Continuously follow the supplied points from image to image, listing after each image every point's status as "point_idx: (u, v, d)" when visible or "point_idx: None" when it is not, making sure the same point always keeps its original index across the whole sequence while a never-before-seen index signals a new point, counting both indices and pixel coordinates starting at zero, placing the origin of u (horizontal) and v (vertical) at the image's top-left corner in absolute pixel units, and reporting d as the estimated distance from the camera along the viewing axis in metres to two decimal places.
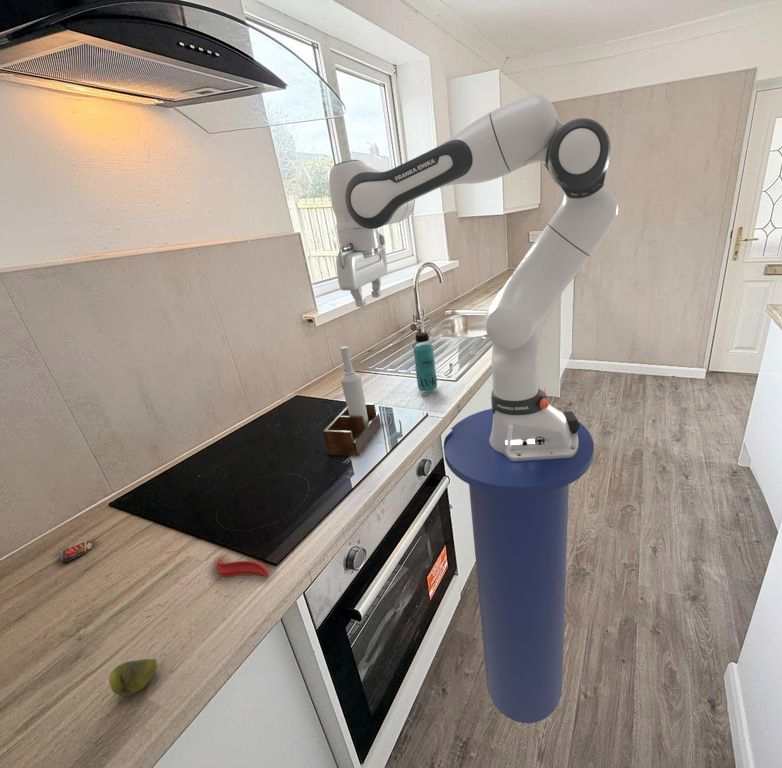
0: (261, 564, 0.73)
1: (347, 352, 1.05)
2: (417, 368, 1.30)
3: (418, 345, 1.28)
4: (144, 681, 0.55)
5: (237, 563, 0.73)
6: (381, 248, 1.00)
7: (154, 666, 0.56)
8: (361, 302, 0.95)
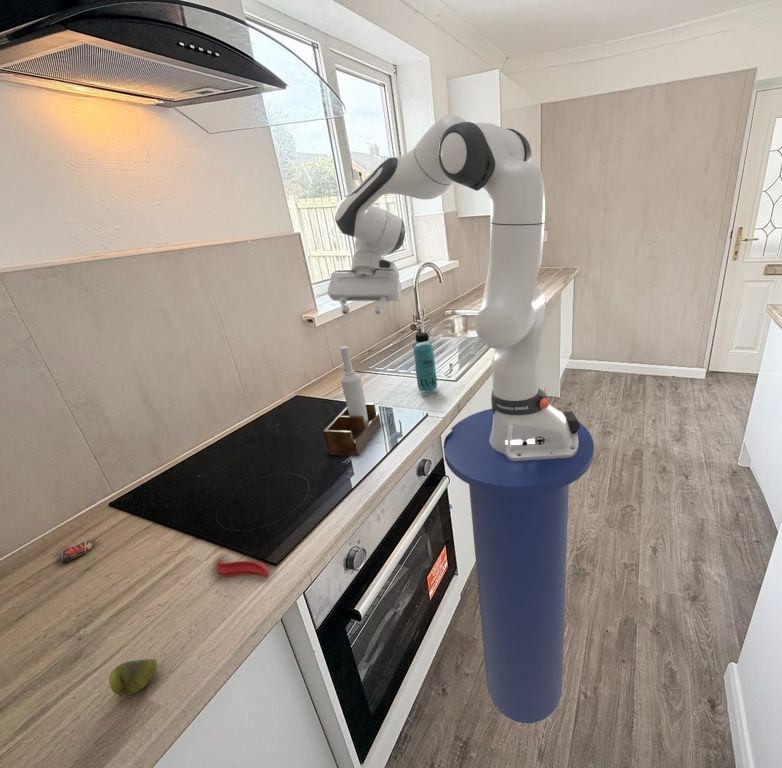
0: (261, 564, 0.73)
1: (347, 352, 1.05)
2: (417, 368, 1.30)
3: (418, 345, 1.28)
4: (144, 682, 0.55)
5: (237, 563, 0.73)
6: (385, 271, 1.13)
7: (154, 666, 0.56)
8: None
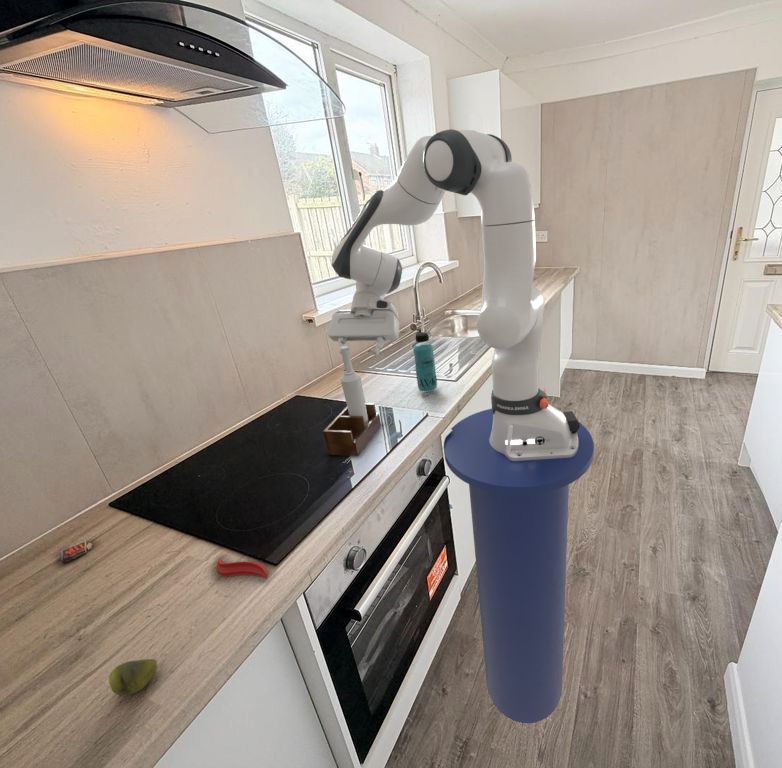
0: (261, 565, 0.73)
1: (347, 352, 1.05)
2: (417, 368, 1.30)
3: (418, 345, 1.28)
4: (144, 681, 0.55)
5: (237, 563, 0.73)
6: (382, 311, 1.13)
7: (154, 666, 0.56)
8: None
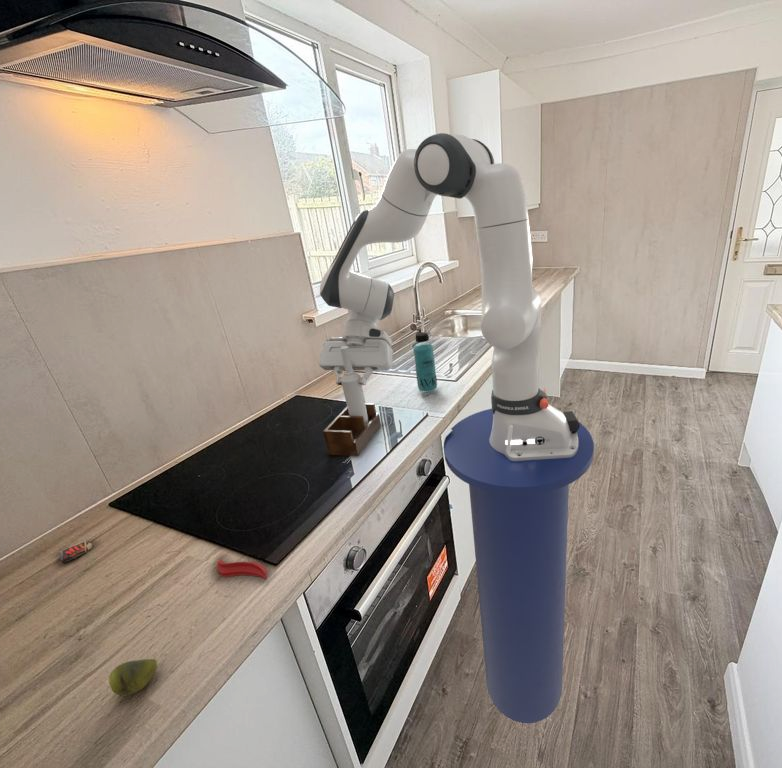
0: (260, 565, 0.73)
1: (347, 352, 1.05)
2: (417, 368, 1.30)
3: (418, 345, 1.28)
4: (144, 681, 0.55)
5: (237, 564, 0.73)
6: (375, 340, 1.08)
7: (154, 666, 0.56)
8: None
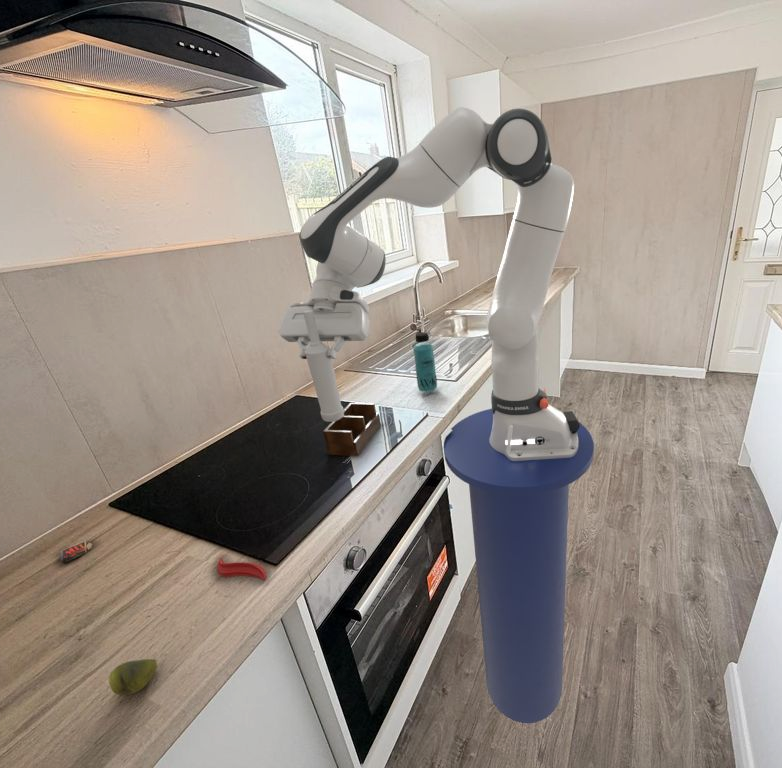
0: (260, 566, 0.73)
1: (311, 317, 0.85)
2: (417, 368, 1.30)
3: (418, 345, 1.28)
4: (144, 682, 0.55)
5: (236, 564, 0.72)
6: (347, 303, 0.89)
7: (154, 666, 0.56)
8: None
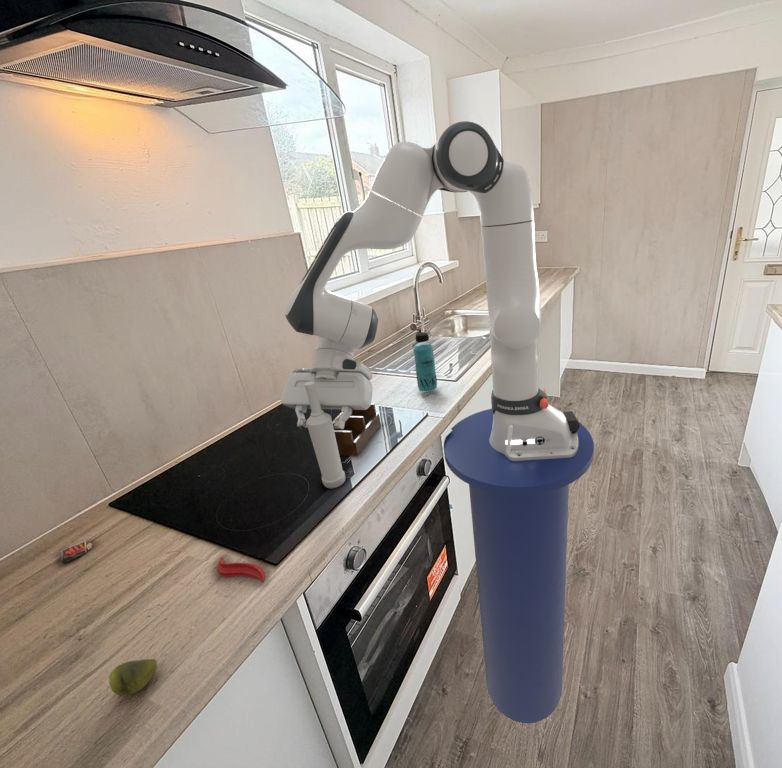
0: (259, 567, 0.73)
1: (313, 389, 0.85)
2: (417, 368, 1.30)
3: (418, 345, 1.28)
4: (144, 682, 0.55)
5: (236, 564, 0.72)
6: (350, 373, 0.89)
7: (154, 666, 0.56)
8: None
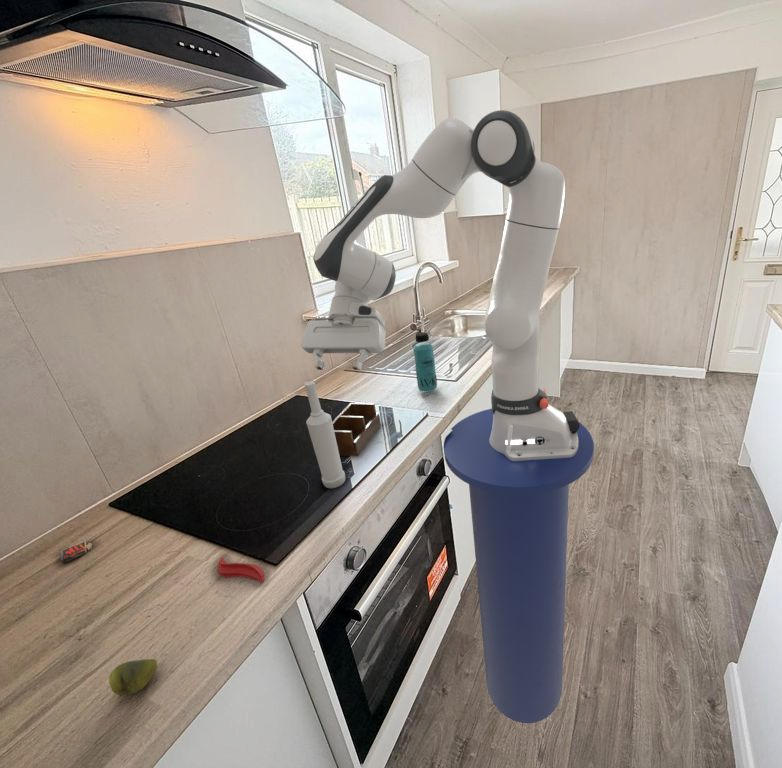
0: (259, 568, 0.73)
1: (313, 389, 0.85)
2: (417, 368, 1.30)
3: (418, 345, 1.28)
4: (144, 681, 0.55)
5: (236, 565, 0.72)
6: (365, 318, 0.96)
7: (154, 666, 0.56)
8: None
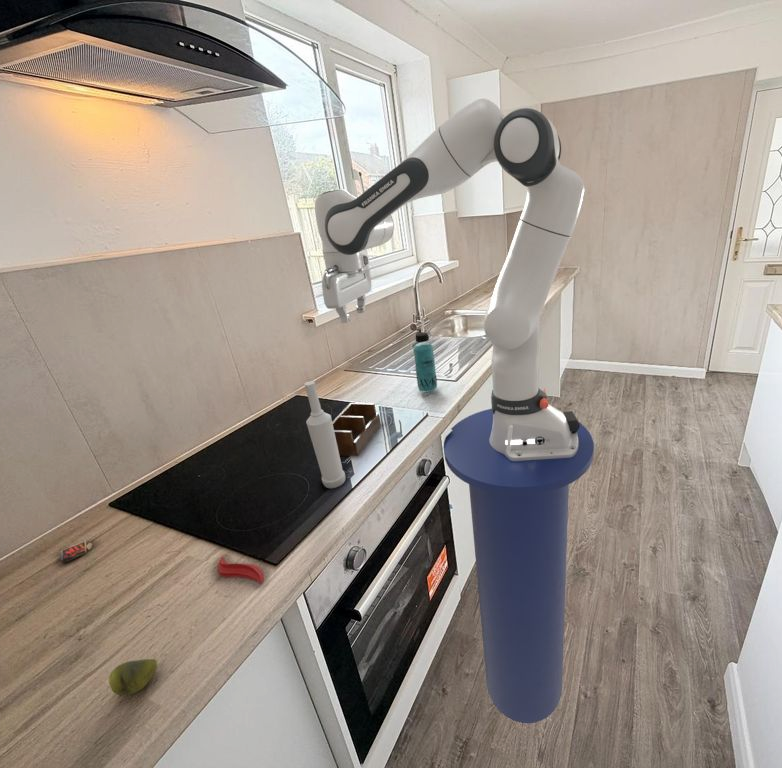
0: (258, 569, 0.72)
1: (313, 389, 0.85)
2: (417, 368, 1.30)
3: (418, 345, 1.28)
4: (144, 681, 0.55)
5: (235, 565, 0.72)
6: (365, 267, 1.08)
7: (154, 666, 0.56)
8: (346, 319, 1.02)
